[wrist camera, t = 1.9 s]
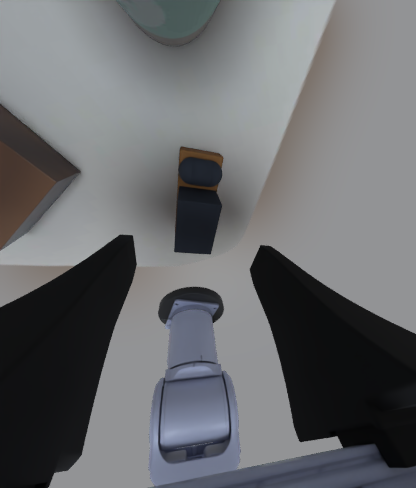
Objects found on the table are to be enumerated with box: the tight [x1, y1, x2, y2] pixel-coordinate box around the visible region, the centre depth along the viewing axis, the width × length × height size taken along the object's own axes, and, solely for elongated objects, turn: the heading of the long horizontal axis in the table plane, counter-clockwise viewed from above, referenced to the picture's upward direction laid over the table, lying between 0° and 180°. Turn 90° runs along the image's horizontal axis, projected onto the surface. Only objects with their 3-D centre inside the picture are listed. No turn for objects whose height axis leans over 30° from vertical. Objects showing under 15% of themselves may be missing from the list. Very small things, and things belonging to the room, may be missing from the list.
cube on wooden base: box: [174, 147, 223, 254], centre depth 13 cm, size 7×3×5 cm, turn 170°
